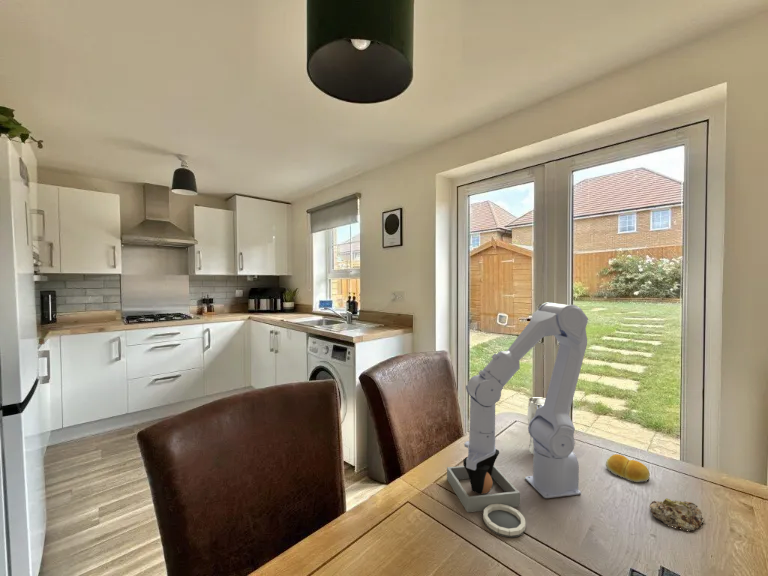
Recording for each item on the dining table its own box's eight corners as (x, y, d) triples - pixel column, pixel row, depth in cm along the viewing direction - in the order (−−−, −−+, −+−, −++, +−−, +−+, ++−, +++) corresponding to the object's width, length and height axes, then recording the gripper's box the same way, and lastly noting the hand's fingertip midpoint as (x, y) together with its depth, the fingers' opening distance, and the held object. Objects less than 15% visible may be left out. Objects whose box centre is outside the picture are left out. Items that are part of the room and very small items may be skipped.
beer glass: (558, 459, 95) (559, 405, 94) (532, 458, 95) (534, 405, 94) (546, 446, 102) (547, 396, 101) (523, 446, 102) (524, 396, 101)
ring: (511, 507, 75) (511, 502, 75) (533, 534, 67) (533, 528, 67) (476, 511, 73) (477, 506, 73) (495, 539, 65) (495, 533, 65)
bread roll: (645, 488, 82) (645, 471, 82) (602, 472, 89) (603, 457, 89) (653, 475, 88) (654, 460, 88) (613, 461, 94) (613, 446, 94)
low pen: (492, 474, 87) (492, 462, 87) (519, 506, 75) (520, 492, 75) (446, 479, 85) (447, 467, 85) (467, 512, 73) (467, 498, 73)
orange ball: (486, 484, 83) (486, 464, 83) (496, 497, 78) (496, 475, 78) (466, 486, 82) (466, 465, 82) (475, 499, 77) (476, 477, 77)
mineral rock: (678, 526, 67) (642, 490, 74) (670, 542, 68) (636, 506, 75) (723, 521, 68) (684, 487, 76) (715, 538, 70) (677, 502, 77)
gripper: (476, 414, 88) (475, 466, 88) (453, 435, 76) (452, 495, 76) (504, 420, 84) (503, 475, 84) (484, 444, 72) (483, 507, 72)
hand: (481, 485), depth 80 cm, fingers closed on orange ball, 5 cm apart
